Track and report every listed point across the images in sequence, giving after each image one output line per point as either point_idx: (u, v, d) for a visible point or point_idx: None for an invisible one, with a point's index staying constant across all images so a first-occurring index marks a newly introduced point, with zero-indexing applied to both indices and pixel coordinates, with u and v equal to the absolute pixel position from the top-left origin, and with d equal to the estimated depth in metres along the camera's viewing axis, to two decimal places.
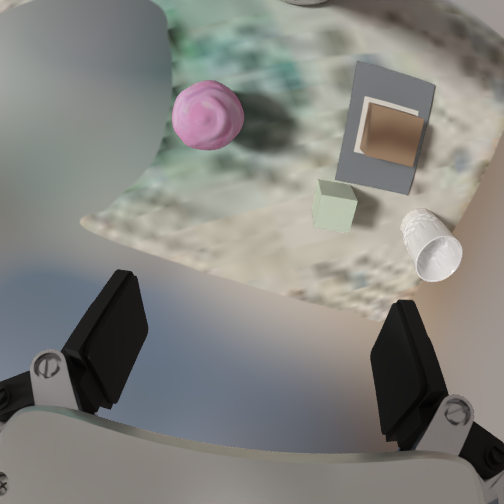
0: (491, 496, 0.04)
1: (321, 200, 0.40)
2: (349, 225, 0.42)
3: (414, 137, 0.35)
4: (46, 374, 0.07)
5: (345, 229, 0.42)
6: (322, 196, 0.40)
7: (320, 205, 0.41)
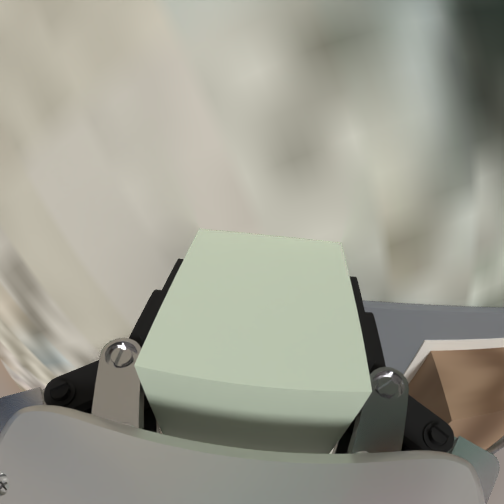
0: None
1: (332, 394, 0.06)
2: None
3: None
4: (117, 363, 0.07)
5: None
6: (359, 395, 0.06)
7: (297, 393, 0.06)
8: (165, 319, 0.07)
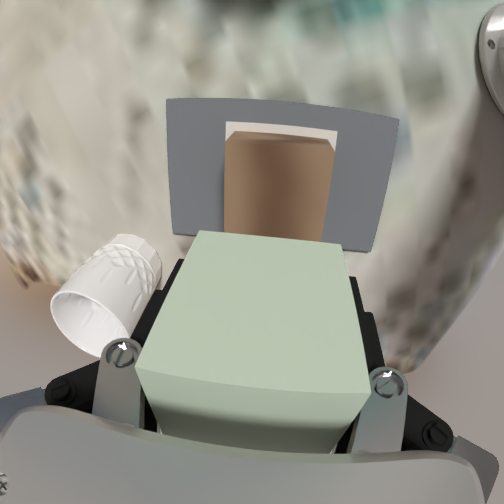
0: None
1: (331, 395, 0.06)
2: None
3: (282, 231, 0.22)
4: (117, 363, 0.07)
5: None
6: (358, 397, 0.06)
7: (296, 394, 0.06)
8: (165, 321, 0.07)
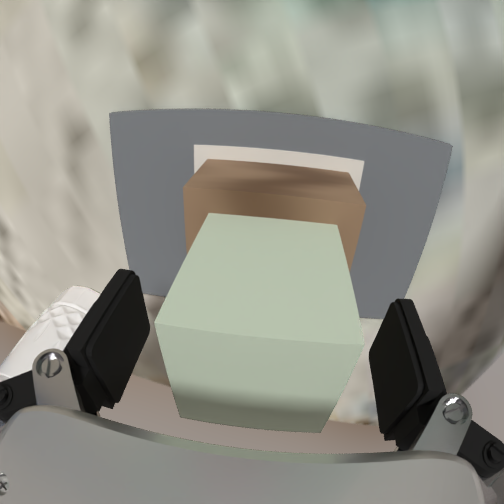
0: (490, 494, 0.04)
1: (329, 346, 0.07)
2: (213, 420, 0.10)
3: None
4: (48, 373, 0.07)
5: (191, 412, 0.09)
6: (353, 348, 0.07)
7: (298, 344, 0.07)
8: (181, 285, 0.08)
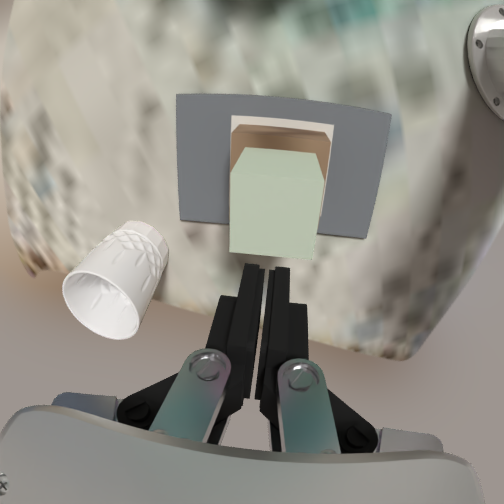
0: None
1: (308, 182, 0.16)
2: (249, 250, 0.19)
3: None
4: (200, 374, 0.07)
5: (237, 244, 0.19)
6: (319, 183, 0.16)
7: (294, 181, 0.16)
8: (239, 165, 0.18)
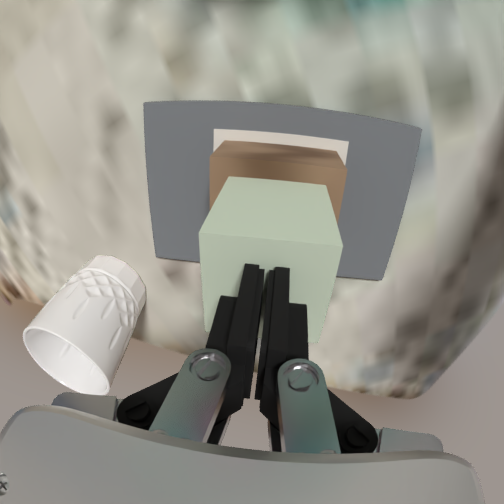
0: None
1: (318, 247, 0.11)
2: None
3: None
4: (200, 374, 0.07)
5: None
6: (335, 249, 0.11)
7: (297, 245, 0.11)
8: (214, 214, 0.12)
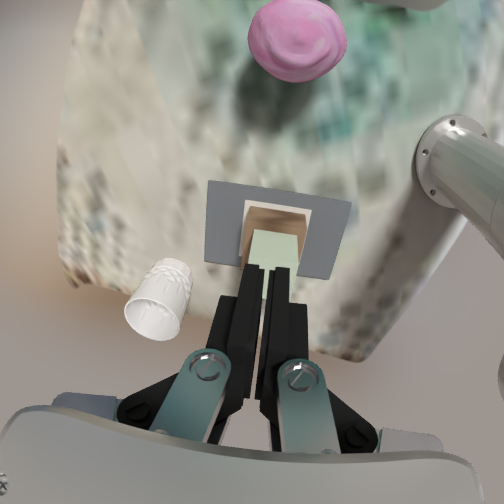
0: None
1: (290, 264, 0.31)
2: None
3: None
4: (200, 374, 0.07)
5: None
6: (295, 266, 0.31)
7: (282, 264, 0.31)
8: (252, 250, 0.32)
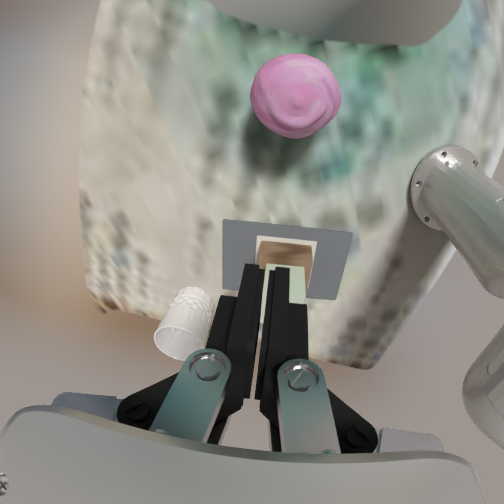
0: None
1: (298, 297, 0.36)
2: None
3: None
4: (200, 374, 0.07)
5: None
6: (303, 297, 0.36)
7: (292, 296, 0.36)
8: (265, 285, 0.37)
